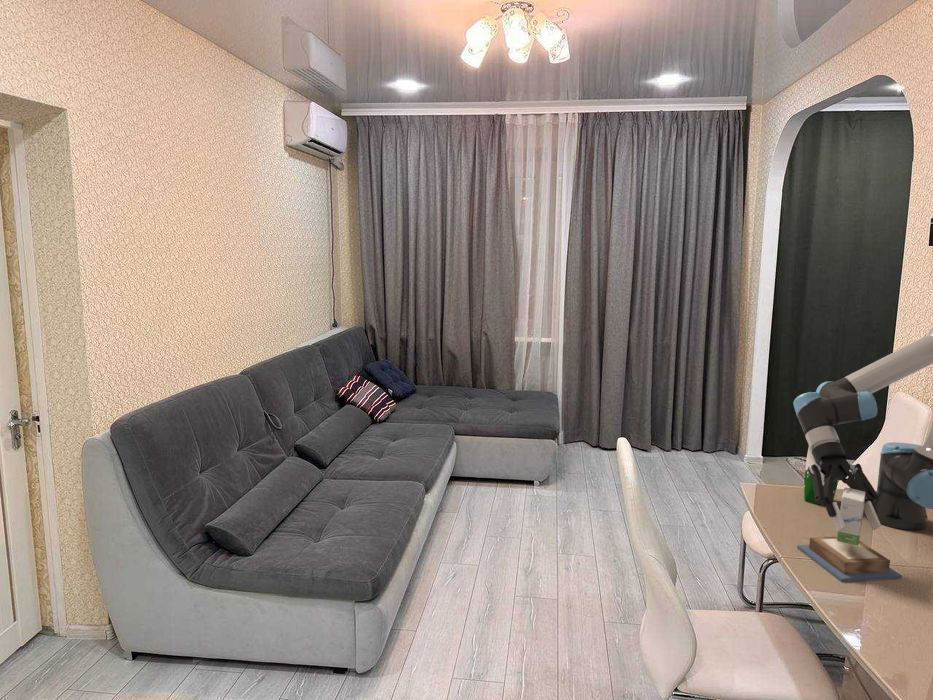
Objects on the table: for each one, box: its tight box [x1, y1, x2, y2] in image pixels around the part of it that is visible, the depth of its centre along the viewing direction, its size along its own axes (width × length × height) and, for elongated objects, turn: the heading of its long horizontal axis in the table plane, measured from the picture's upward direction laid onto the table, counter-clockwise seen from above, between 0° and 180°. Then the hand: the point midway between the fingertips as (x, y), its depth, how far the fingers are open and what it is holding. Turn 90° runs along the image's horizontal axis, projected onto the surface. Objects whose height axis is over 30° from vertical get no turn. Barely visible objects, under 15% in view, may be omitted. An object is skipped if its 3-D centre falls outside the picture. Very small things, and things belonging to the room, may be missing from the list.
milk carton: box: [803, 446, 839, 506], centre depth 216 cm, size 9×9×20 cm
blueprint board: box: [796, 544, 903, 583], centre depth 176 cm, size 16×18×1 cm
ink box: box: [836, 487, 865, 546], centre depth 174 cm, size 8×5×12 cm, turn 148°
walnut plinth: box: [808, 536, 891, 574], centre depth 176 cm, size 12×14×3 cm
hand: (859, 528), depth 171 cm, fingers closed on ink box, 9 cm apart
